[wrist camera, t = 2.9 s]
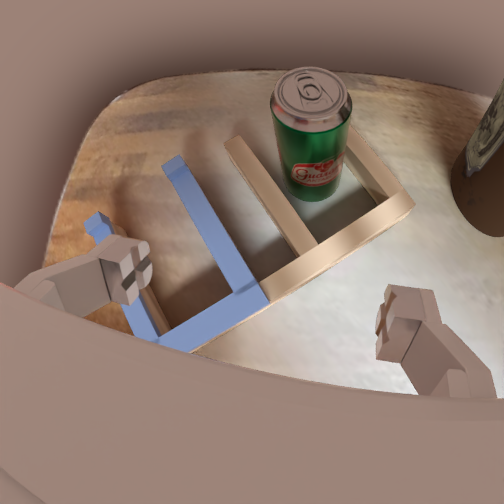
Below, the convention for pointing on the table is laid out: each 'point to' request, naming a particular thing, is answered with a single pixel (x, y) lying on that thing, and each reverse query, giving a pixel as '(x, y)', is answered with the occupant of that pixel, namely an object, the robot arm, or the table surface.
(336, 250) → the duct rack
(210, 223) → the blue bezel
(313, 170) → the soda can
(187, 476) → the robot arm
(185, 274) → the table surface
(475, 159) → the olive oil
